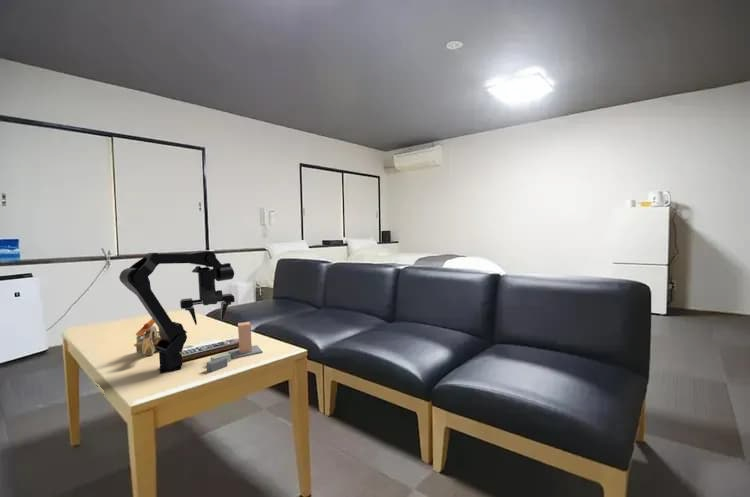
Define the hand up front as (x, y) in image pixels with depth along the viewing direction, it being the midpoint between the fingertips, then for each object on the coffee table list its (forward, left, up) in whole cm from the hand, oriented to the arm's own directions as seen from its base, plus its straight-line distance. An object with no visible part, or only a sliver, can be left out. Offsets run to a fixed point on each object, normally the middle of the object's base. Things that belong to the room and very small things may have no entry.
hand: (209, 322), depth 138 cm
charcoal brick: (0, -16, -13) cm, 21 cm away
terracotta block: (+12, -5, -12) cm, 18 cm away
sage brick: (+2, -11, -13) cm, 17 cm away
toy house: (-20, +15, -13) cm, 28 cm away
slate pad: (+12, -5, -13) cm, 18 cm away
